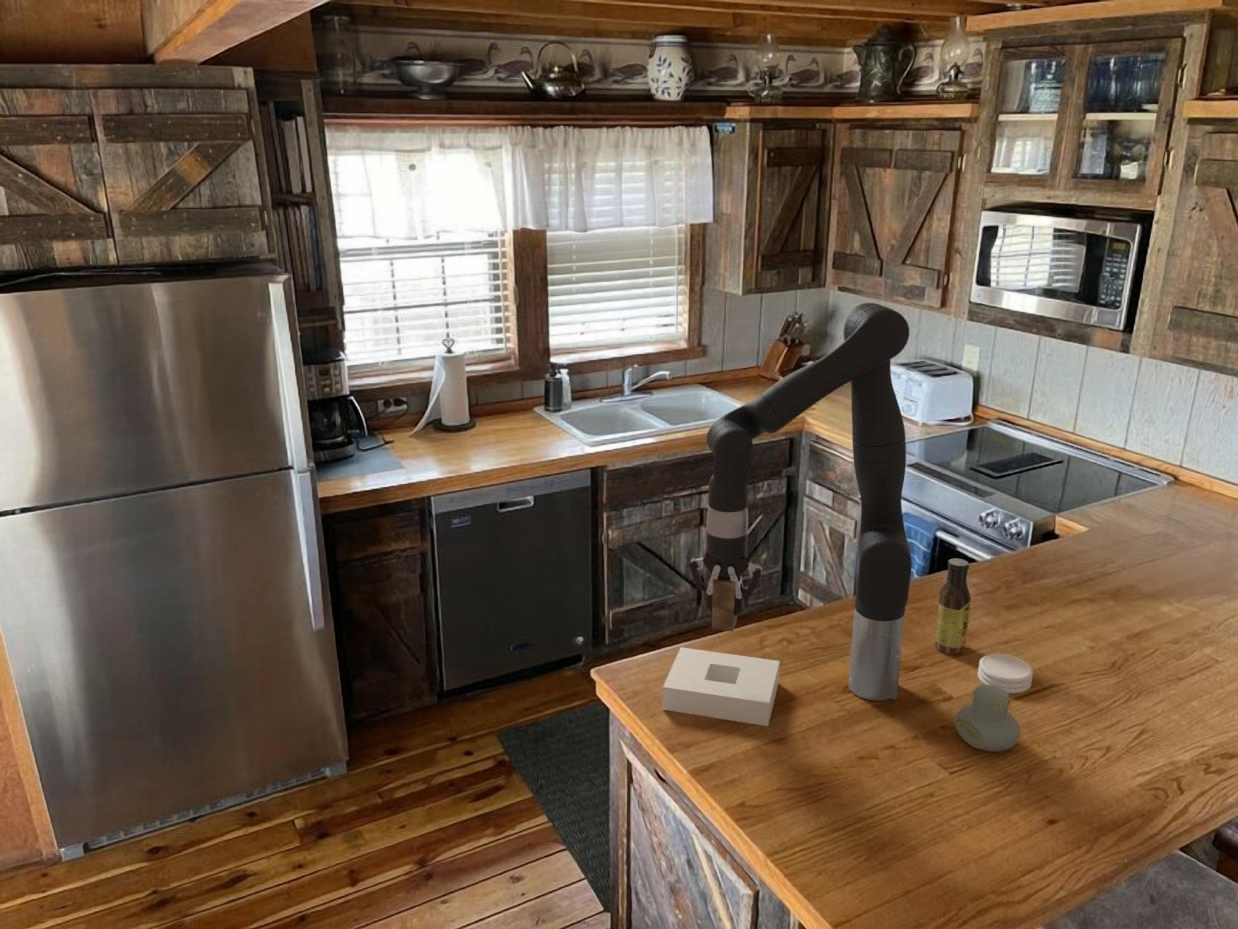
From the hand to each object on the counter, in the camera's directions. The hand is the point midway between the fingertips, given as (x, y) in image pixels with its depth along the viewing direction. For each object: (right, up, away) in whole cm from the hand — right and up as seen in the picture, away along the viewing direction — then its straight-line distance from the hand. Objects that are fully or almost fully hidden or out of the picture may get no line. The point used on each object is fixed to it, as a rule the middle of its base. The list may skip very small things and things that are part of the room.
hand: (724, 611), depth 175 cm
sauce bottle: (+50, -11, +22) cm, 56 cm away
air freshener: (+46, -22, -8) cm, 51 cm away
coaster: (+57, -16, +10) cm, 60 cm away
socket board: (0, -17, +6) cm, 18 cm away
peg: (0, -3, +1) cm, 3 cm away
